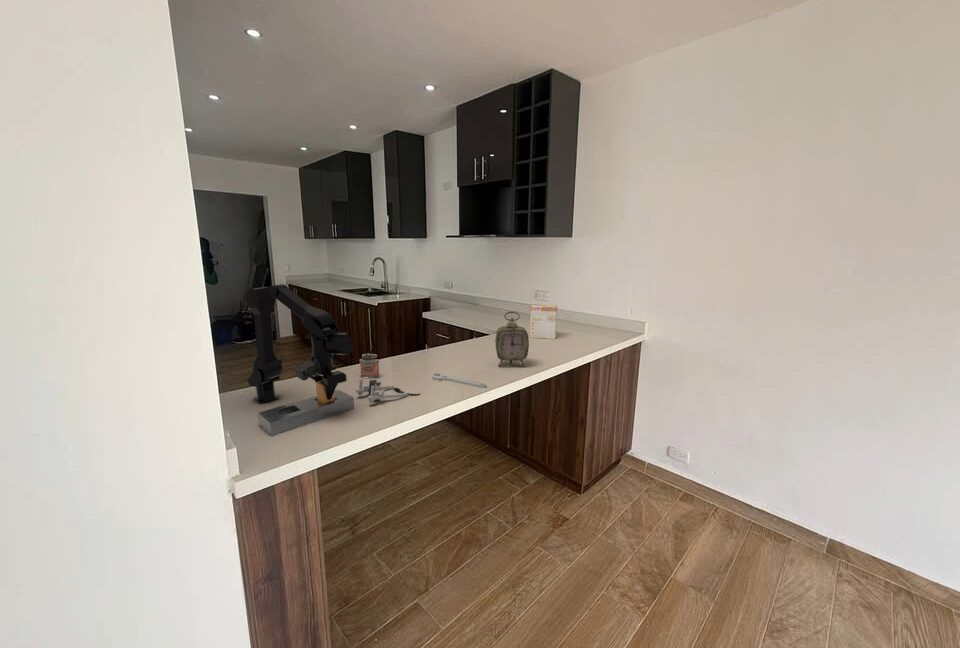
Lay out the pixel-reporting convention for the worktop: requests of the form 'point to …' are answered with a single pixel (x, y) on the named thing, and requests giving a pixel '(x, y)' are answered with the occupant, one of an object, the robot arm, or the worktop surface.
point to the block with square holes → (303, 412)
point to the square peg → (322, 393)
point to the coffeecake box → (543, 321)
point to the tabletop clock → (512, 342)
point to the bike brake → (379, 391)
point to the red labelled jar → (369, 366)
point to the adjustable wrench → (457, 380)
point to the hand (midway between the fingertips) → (325, 397)
